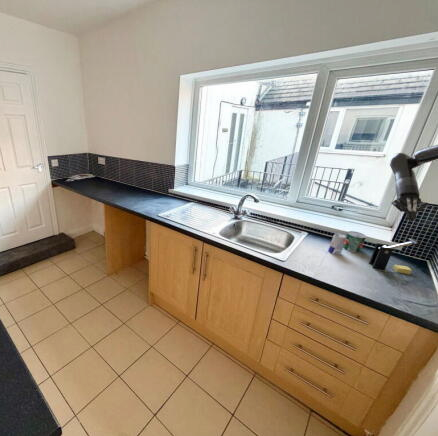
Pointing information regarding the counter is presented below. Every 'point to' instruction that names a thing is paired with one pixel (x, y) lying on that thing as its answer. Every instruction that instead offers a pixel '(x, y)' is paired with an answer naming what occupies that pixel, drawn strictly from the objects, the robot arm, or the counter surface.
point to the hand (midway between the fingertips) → (411, 219)
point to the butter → (402, 269)
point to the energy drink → (337, 244)
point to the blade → (404, 244)
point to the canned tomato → (354, 241)
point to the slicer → (380, 257)
